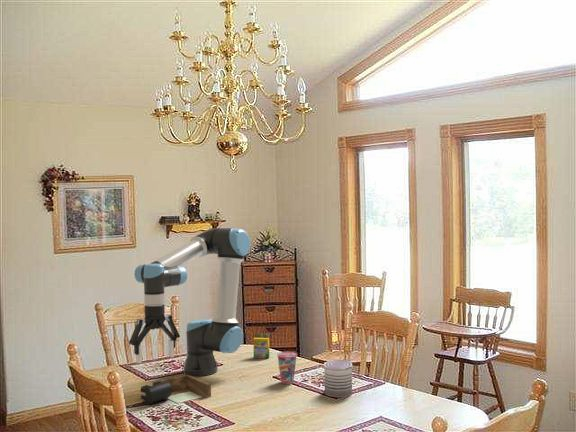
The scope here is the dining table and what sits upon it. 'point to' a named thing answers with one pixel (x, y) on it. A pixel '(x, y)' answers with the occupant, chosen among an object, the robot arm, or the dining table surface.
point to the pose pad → (183, 397)
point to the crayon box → (261, 346)
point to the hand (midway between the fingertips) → (155, 359)
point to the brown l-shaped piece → (189, 384)
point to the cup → (287, 366)
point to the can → (338, 378)
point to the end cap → (156, 392)
